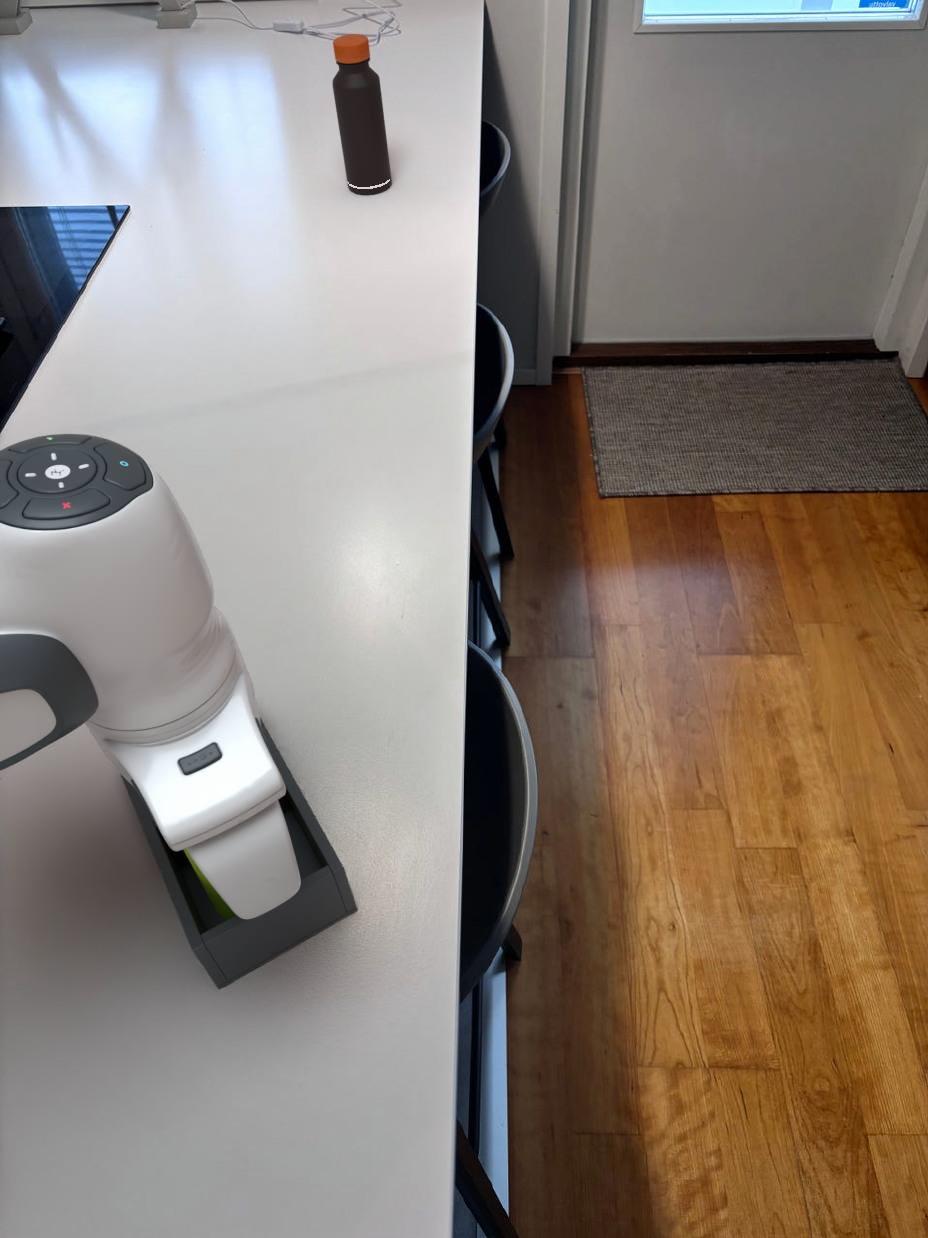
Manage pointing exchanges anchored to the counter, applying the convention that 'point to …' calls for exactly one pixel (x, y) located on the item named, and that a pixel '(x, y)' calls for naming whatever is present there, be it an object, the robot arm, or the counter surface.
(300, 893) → the storage box
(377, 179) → the bottle
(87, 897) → the counter surface
